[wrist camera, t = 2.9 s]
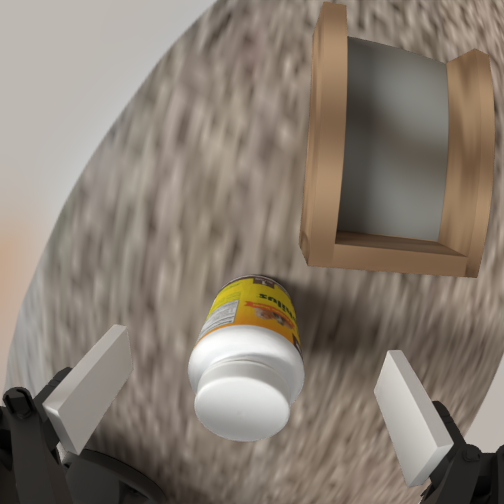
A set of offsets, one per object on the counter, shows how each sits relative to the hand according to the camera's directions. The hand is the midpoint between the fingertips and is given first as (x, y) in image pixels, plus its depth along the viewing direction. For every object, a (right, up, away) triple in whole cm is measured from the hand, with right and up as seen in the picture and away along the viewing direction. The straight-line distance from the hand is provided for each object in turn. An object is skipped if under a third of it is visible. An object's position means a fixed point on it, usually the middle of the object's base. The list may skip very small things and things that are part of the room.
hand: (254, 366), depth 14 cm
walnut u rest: (+9, +12, +4) cm, 16 cm away
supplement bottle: (0, +2, +7) cm, 7 cm away
